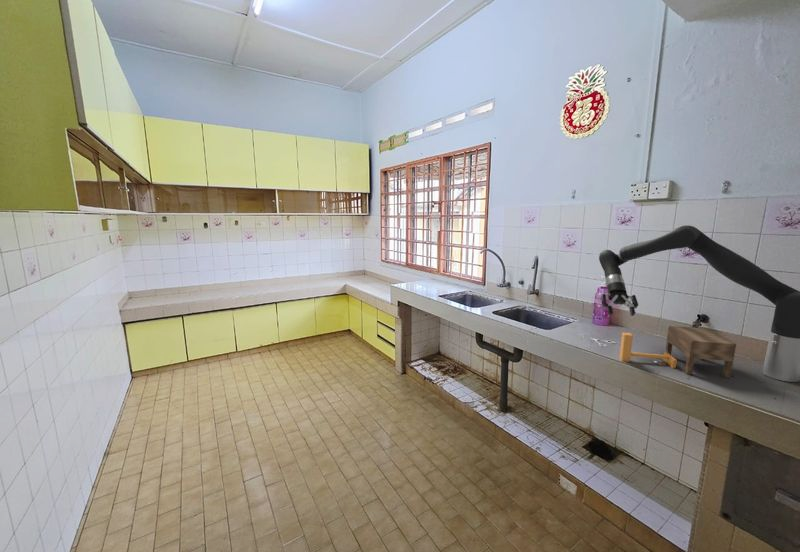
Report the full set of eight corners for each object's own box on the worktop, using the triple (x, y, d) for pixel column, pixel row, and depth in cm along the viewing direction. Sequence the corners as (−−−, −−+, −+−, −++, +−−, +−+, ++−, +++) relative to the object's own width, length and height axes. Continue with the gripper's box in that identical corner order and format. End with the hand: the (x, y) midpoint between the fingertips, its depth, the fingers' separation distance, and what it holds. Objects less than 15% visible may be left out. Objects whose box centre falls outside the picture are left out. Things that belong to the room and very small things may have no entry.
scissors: (607, 347, 157) (569, 334, 174) (607, 349, 157) (568, 336, 174) (620, 343, 162) (581, 330, 179) (619, 344, 162) (581, 332, 179)
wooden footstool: (702, 358, 144) (707, 328, 142) (730, 378, 127) (736, 344, 125) (664, 355, 148) (668, 325, 145) (686, 374, 131) (691, 341, 128)
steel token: (662, 361, 143) (663, 359, 143) (670, 366, 138) (670, 364, 138) (650, 360, 144) (650, 358, 144) (657, 365, 139) (657, 363, 139)
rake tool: (666, 359, 144) (669, 333, 141) (675, 368, 136) (679, 340, 134) (617, 355, 149) (620, 330, 146) (623, 363, 141) (627, 337, 139)
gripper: (601, 280, 159) (607, 310, 151) (635, 281, 156) (643, 311, 147) (597, 289, 165) (602, 317, 157) (629, 290, 162) (636, 319, 153)
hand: (622, 314), depth 152 cm, fingers open, 8 cm apart
